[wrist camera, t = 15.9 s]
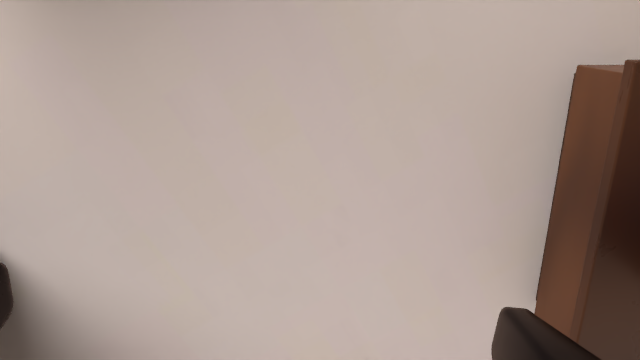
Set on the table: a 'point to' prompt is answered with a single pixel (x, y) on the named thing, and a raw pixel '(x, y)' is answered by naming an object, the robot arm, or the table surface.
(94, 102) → the table surface
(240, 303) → the table surface
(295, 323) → the table surface
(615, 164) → the cabinet
